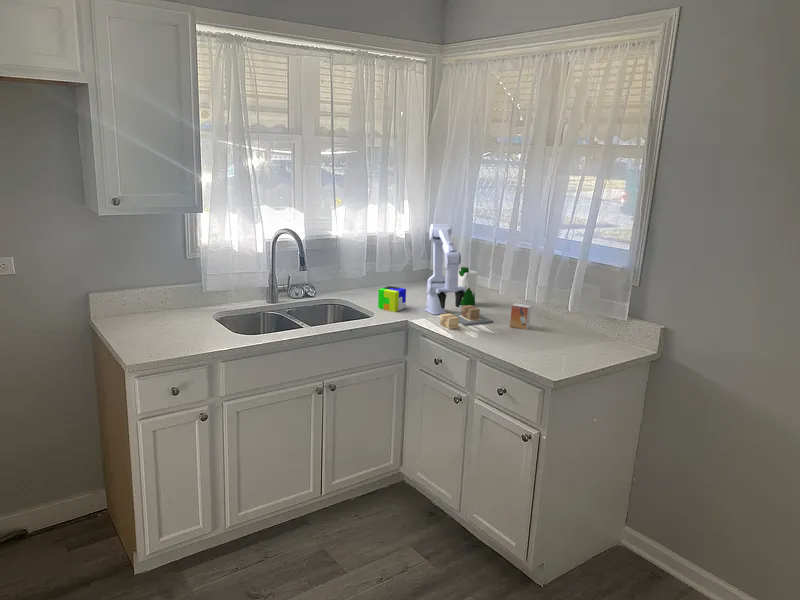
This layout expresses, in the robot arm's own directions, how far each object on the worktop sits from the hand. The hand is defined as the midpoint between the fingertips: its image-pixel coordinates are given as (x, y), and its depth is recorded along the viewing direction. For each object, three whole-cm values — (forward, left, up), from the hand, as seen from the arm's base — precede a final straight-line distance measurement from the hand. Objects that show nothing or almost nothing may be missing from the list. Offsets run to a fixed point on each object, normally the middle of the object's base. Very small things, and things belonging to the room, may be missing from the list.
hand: (450, 307), depth 279 cm
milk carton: (-31, +28, -9) cm, 43 cm away
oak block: (0, 0, -9) cm, 9 cm away
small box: (+12, +31, -9) cm, 34 cm away
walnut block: (-6, +15, -8) cm, 18 cm away
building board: (-6, +15, -9) cm, 18 cm away
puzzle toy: (-37, -12, -9) cm, 40 cm away
